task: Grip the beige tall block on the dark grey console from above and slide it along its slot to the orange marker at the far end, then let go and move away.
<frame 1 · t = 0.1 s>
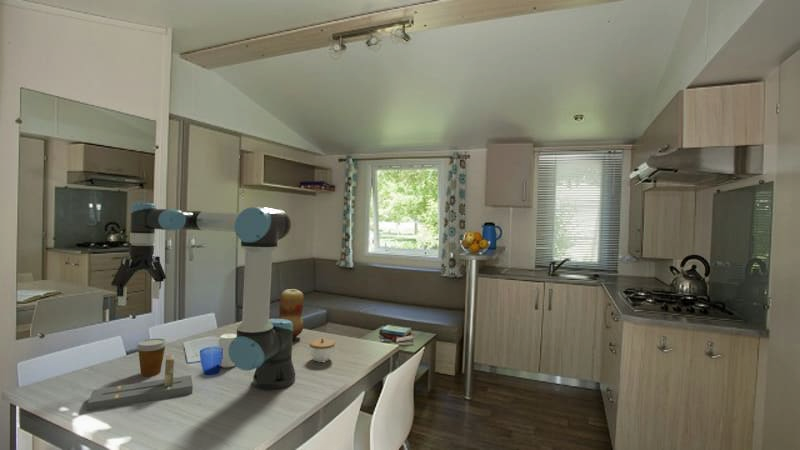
hand: (139, 301, 140), 28 cm above the table, tool pointing down, fingers open, 13 cm apart
disposable coffee cup: (150, 373, 144), on the table
beverage can: (228, 365, 155), on the table
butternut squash: (289, 338, 193), on the table
lidded jar: (321, 360, 165), on the table
beige tall block: (169, 370, 130), point 7 cm above the table, slide at 0.0 cm
fader console: (143, 395, 126), on the table
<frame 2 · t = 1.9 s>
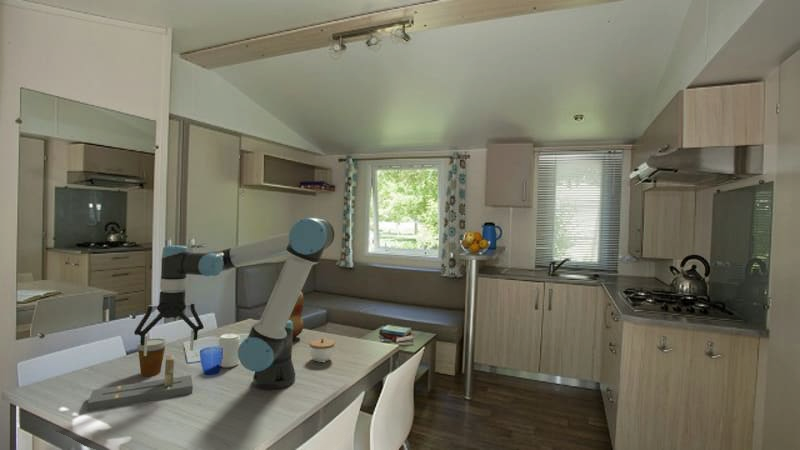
hand: (169, 352, 130), 13 cm above the table, tool pointing down, fingers open, 13 cm apart
nothing on the table moved.
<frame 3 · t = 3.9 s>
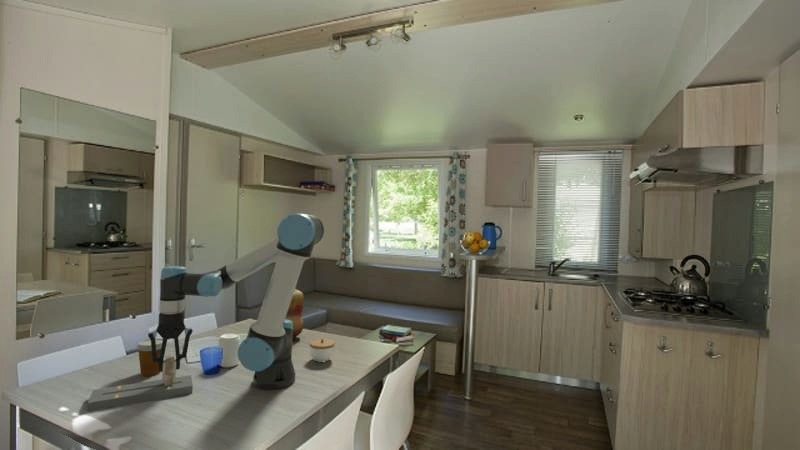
hand: (168, 379, 130), 4 cm above the table, tool pointing down, fingers closed on beige tall block, 2 cm apart
beige tall block: (169, 370, 130), point 7 cm above the table, slide at 0.0 cm, touching gripper
everything else where it was.
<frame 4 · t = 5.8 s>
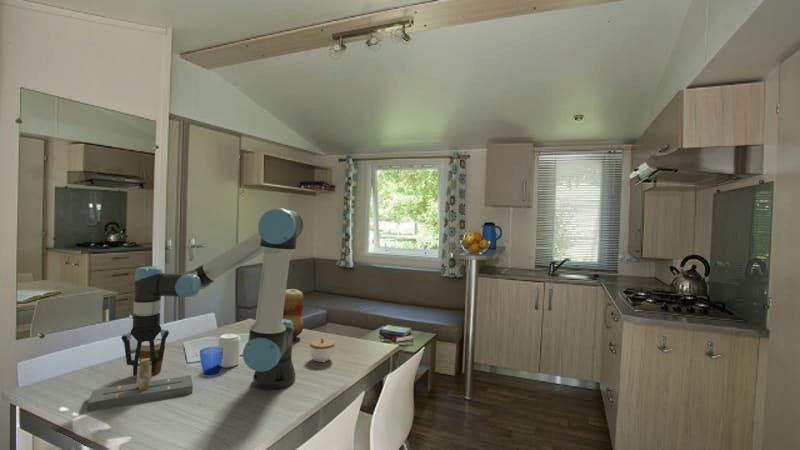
hand: (143, 383, 126), 4 cm above the table, tool pointing down, fingers closed on beige tall block, 2 cm apart
beige tall block: (144, 374, 126), point 7 cm above the table, slide at 7.1 cm, touching gripper
everything else where it was.
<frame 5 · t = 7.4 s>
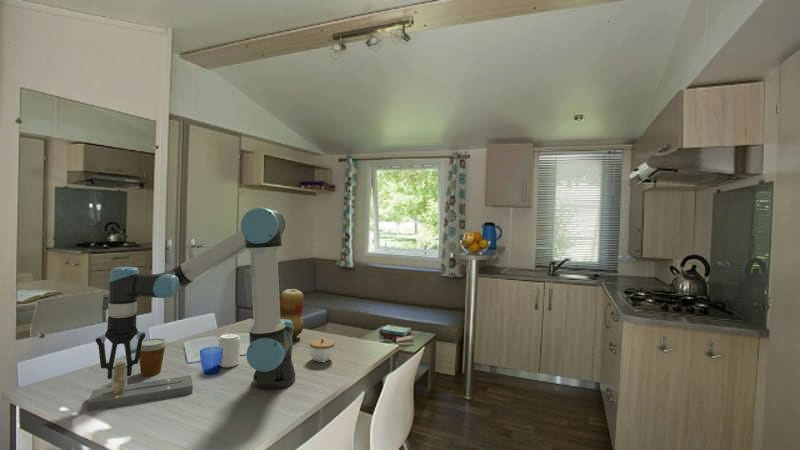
hand: (119, 387, 122), 4 cm above the table, tool pointing down, fingers closed on beige tall block, 2 cm apart
beige tall block: (119, 377, 122), point 7 cm above the table, slide at 13.7 cm, touching gripper
everything else where it was.
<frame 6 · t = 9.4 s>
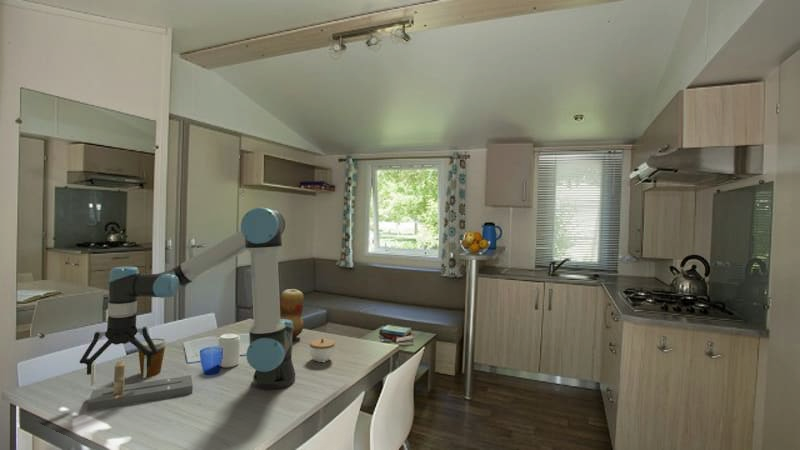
hand: (119, 380, 122), 6 cm above the table, tool pointing down, fingers open, 13 cm apart
beige tall block: (119, 377, 122), point 7 cm above the table, slide at 13.8 cm
everything else where it was.
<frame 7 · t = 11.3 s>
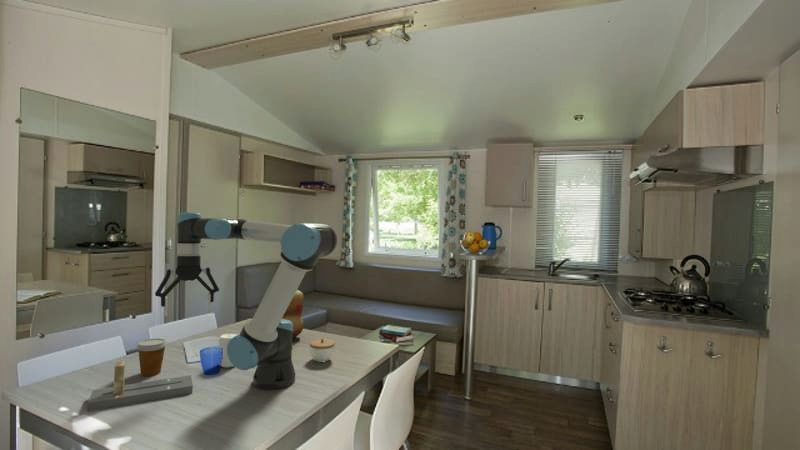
hand: (187, 313, 137), 25 cm above the table, tool pointing down, fingers open, 13 cm apart
nothing on the table moved.
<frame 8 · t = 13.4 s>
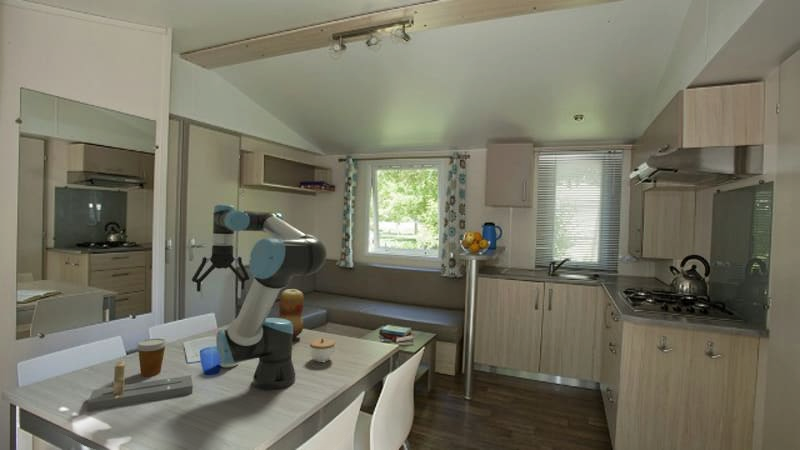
hand: (220, 298, 147), 29 cm above the table, tool pointing down, fingers open, 13 cm apart
nothing on the table moved.
at the end: beige tall block slide at 13.8 cm; the gripper is holding nothing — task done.
